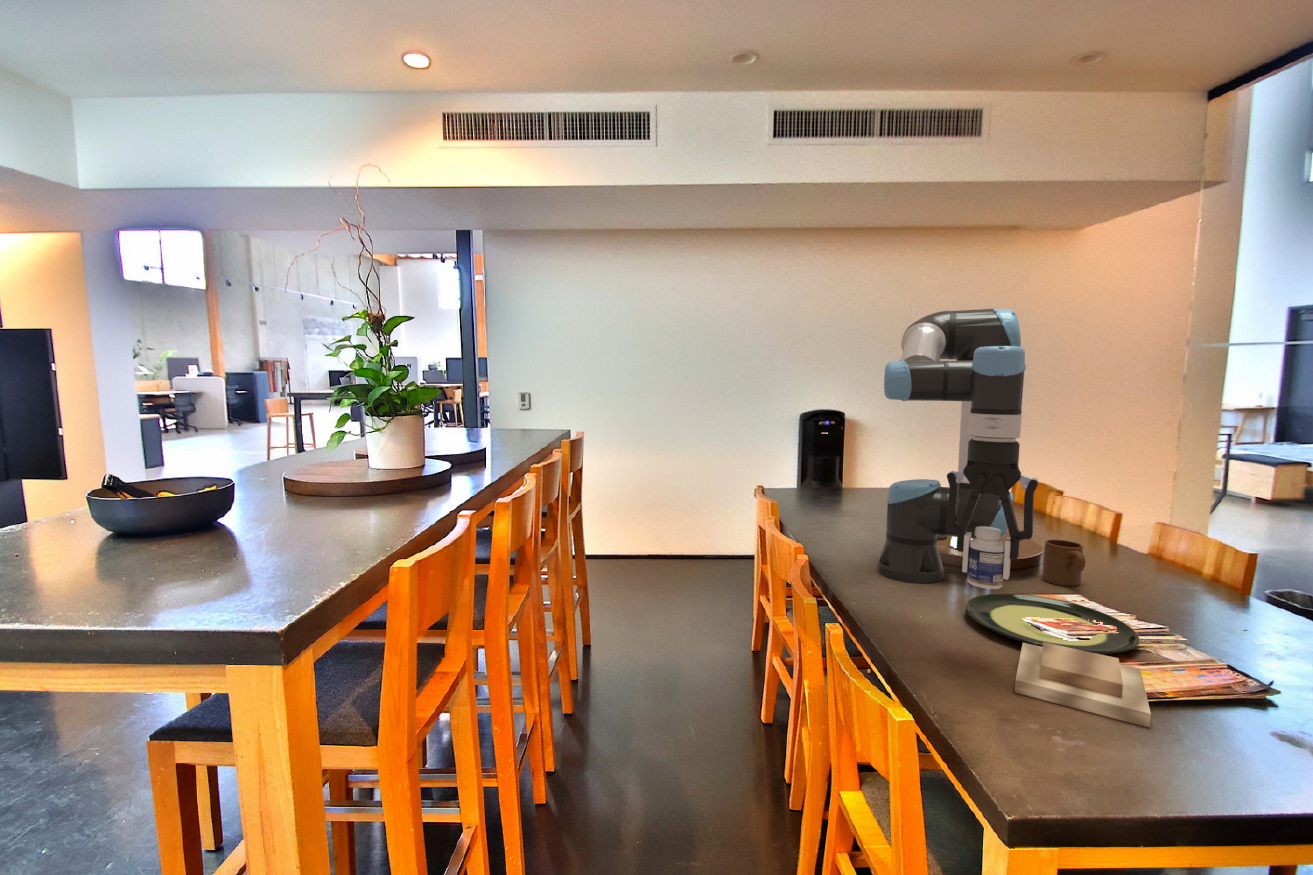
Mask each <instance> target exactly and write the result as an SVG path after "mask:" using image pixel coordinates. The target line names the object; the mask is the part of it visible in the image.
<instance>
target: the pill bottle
mask: <svg viewBox="0 0 1313 875" xmlns="http://www.w3.org/2000/svg"><path fill="white" fill-rule="evenodd" d="M975 536H976V538H975V539H971V541H970V545H969V559H968V572H967V580H966V581H967V582H968V583H969V584H970V585H972V586H974V587H977V588H980V589H986V590H987V589H988V590H998V589H1001V588H1003V583H1004V579H1003V568H1004V552H1005V543H1003V542H1002V541H1000V540H1002V539H1003V538H1002V530H1000V529H997V528H993V527H985V526H979V527H976V528H975ZM1001 538H1002V539H1001Z"/></svg>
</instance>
